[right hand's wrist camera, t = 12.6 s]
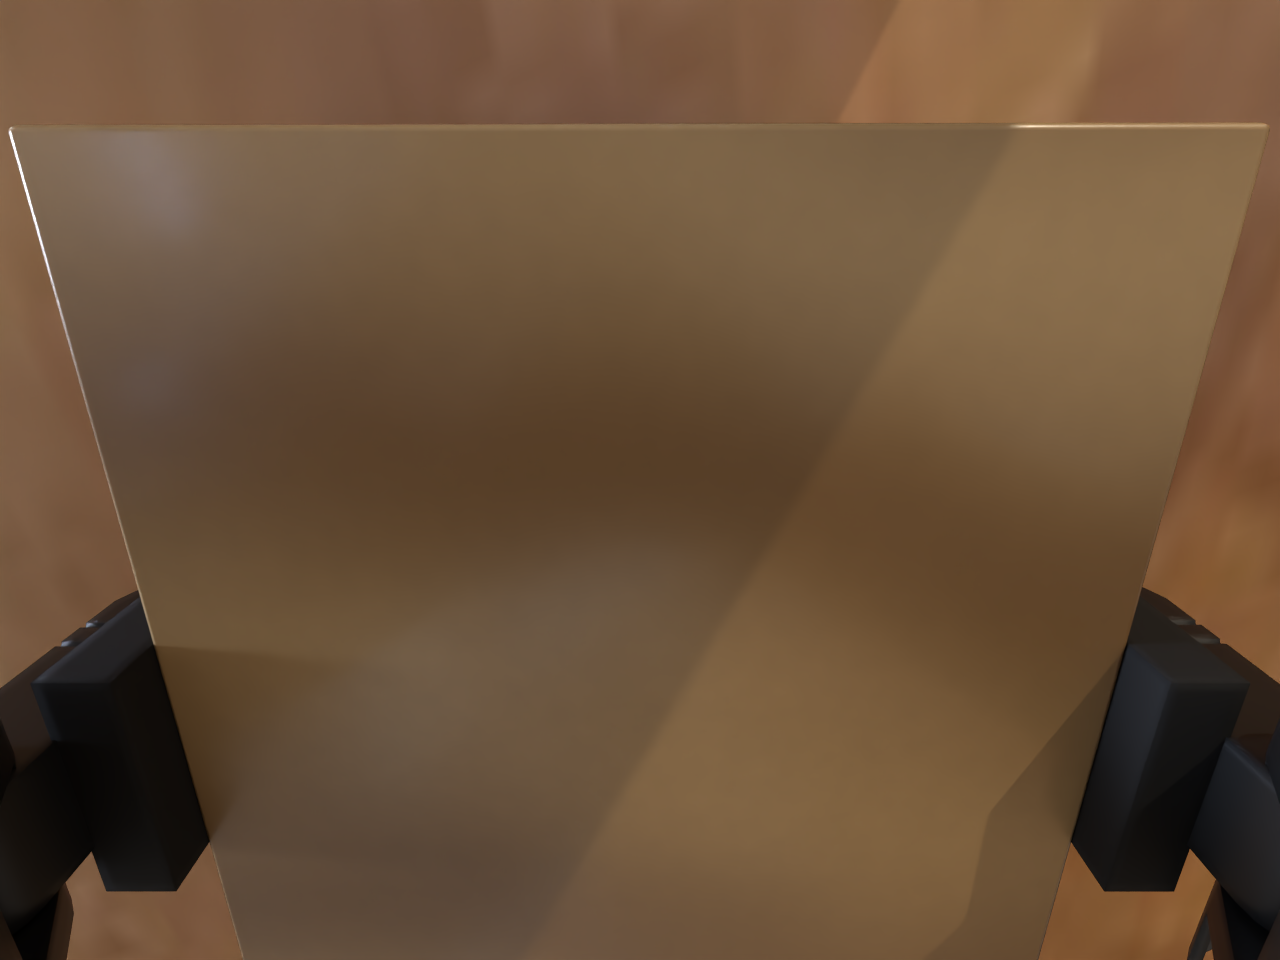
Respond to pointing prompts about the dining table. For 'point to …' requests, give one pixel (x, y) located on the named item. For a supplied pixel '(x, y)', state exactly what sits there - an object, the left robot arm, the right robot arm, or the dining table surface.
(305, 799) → the slab
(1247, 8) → the dining table surface
